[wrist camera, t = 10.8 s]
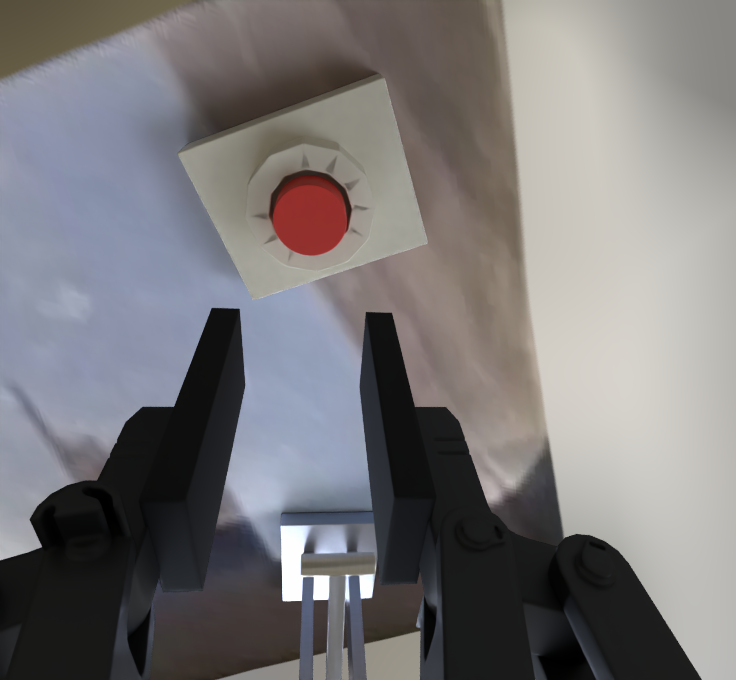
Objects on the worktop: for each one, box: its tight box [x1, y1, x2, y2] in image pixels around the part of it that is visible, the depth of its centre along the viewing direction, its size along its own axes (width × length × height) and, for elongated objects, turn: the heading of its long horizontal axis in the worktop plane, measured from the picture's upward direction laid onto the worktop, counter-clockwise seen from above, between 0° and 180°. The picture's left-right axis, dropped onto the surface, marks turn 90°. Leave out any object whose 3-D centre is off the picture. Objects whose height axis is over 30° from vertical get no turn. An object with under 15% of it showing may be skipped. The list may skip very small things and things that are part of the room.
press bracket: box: [281, 512, 378, 680], centre depth 41 cm, size 12×9×15 cm
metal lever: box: [300, 552, 376, 680], centre depth 35 cm, size 15×5×2 cm, turn 175°
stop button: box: [273, 175, 347, 256], centre depth 25 cm, size 4×4×2 cm
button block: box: [178, 74, 428, 300], centre depth 27 cm, size 11×9×4 cm
